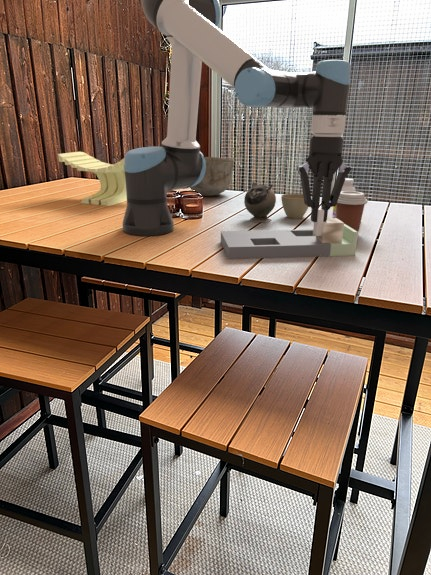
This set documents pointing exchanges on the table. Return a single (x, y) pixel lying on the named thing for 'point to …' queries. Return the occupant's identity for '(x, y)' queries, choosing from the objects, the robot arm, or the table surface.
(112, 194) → the slatted curved stool
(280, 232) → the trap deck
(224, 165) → the bowl
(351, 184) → the supplement bottle
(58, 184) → the table surface
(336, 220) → the cream block
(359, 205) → the coffee cup
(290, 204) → the flower pot
